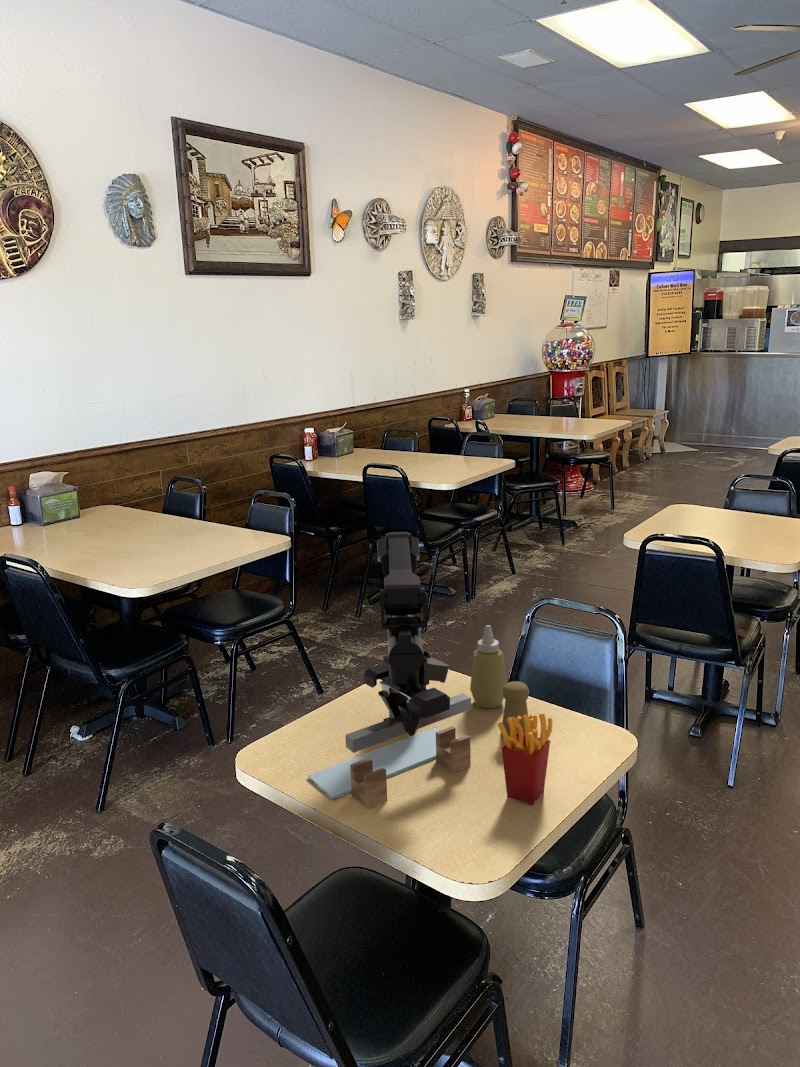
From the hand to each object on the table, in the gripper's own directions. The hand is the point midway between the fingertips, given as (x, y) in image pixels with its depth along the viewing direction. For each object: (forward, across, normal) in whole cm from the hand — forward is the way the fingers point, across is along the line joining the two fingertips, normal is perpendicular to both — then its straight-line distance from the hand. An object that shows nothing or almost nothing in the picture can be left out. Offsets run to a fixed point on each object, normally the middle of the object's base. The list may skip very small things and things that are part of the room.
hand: (406, 732), depth 143 cm
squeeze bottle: (+10, +15, -32) cm, 37 cm away
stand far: (+10, 0, -10) cm, 14 cm away
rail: (-1, 0, -1) cm, 1 cm away
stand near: (+10, 0, +8) cm, 13 cm away
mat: (+10, +8, -1) cm, 13 cm away
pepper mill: (+10, +1, -28) cm, 29 cm away
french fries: (+10, -15, -15) cm, 23 cm away
